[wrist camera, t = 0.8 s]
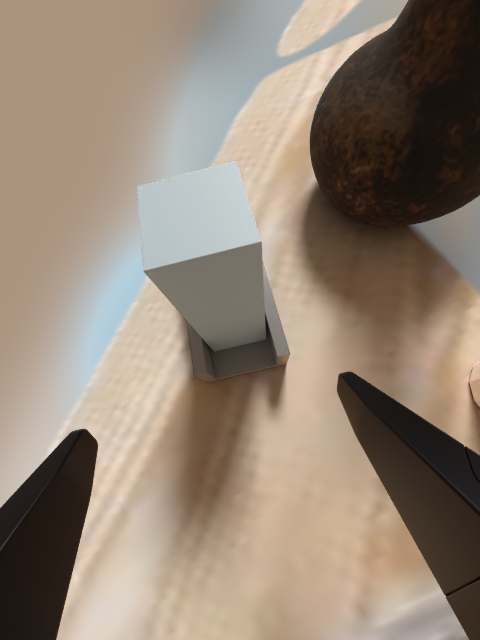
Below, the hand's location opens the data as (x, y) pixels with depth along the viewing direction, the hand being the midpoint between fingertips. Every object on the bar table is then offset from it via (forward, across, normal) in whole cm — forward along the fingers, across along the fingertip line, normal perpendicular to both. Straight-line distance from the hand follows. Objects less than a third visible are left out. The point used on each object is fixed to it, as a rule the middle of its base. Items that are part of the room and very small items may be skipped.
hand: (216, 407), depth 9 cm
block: (+14, -1, +6) cm, 16 cm away
